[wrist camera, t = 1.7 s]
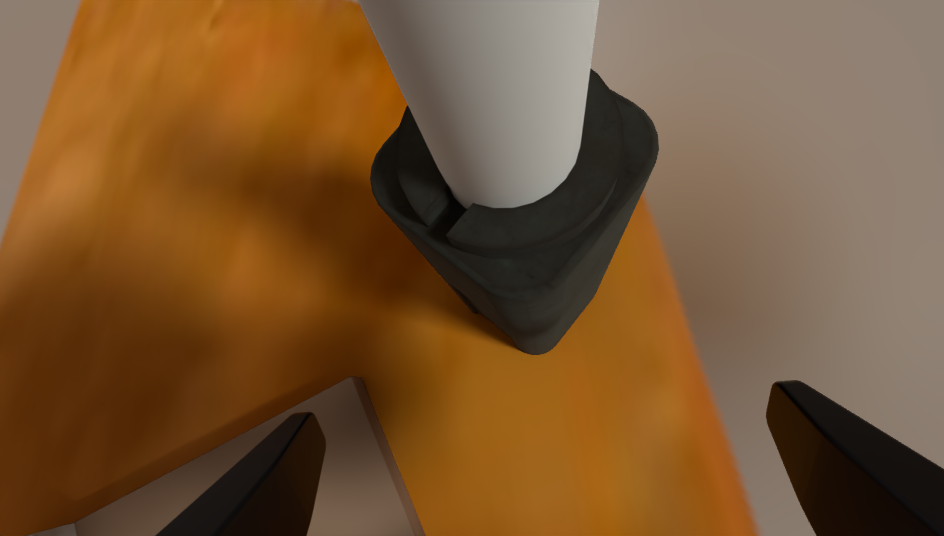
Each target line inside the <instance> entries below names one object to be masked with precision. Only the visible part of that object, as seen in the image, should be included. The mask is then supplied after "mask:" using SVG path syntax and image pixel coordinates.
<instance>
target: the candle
mask: <svg viewBox="0 0 944 536" xmlns="http://www.w3.org/2000/svg"><path fill="white" fill-rule="evenodd" d="M358 2H359V4H360V6H361V8H362V10H363V12H364V14H365V16H366V18H367V20H368V22H369V25H370V27H371V29H372V31H373V33H374V35H375V37H376V39H377V41H378V43H379V45H380V48H381V50H382V52H383V54H384V56H385V58H386V60H387V62H388V64H389V66H390V69H391V71H392V73H393V75H394V77H395V79H396V81H397V83H398V85H399V87H400V89H401V92H402V94H403V96H404V98H405V100H406V102H407V104H408V106H407V107H406V110H405V112H404V115H403V117H402V120H401V123H400V125H399V127H398V128H397V129H396V130H395V132H394V133H393V134H392V135H391V136H390V137H389V138H388V139H387V141H386V142H385V143H384V144H383V145H382V147H381V148H380V150H379V151H378V153H377V154H376V156H375V159H374V162H373V164H372V168H371V177H370V180H371V186H372V192H373V195H374V197H375V199H376V201H377V203H378V205H379V206H380V207H381V208H382V209H383V210H384V211H385V213H386V214H387V215H388V216H389V217H390V218H391V219H392V221H393V222H394V223H395V224H396V225H397V226H398V227H399V229H400V230H401V231H402V232H403V233H404V234H405V235H406V236H407V238H408V239H409V240H410V241H411V242H412V243H413V244H414V246H415V247H416V248H417V249H418V250H419V251H420V252H421V254H422V255H423V256H424V257H425V258H426V259H427V260H428V262H429V263H430V264H431V265H432V266H433V267H434V268H435V270H436V271H437V272H438V273H439V274H440V275H441V276H442V278H443V279H444V280H445V281H446V282H447V283H448V284H449V286H450V287H451V288H452V289H453V290H454V291H455V292H456V294H457V295H458V296H459V297H460V298H461V299H462V300H463V302H464V303H465V304H466V305H467V306H468V307H469V308H470V309H471V310H472V312H473V313H478V312H479V313H481V314H482V315H483V316H485V317H486V318H487V319H488V320H490V321H491V322H492V323H493V324H495V325H496V326H497V327H498V328H500V329H501V330H502V331H503V332H505V333H506V334H507V335H508V336H510V337H511V338H512V340H513V342H514V343H515V345H516V347H517V348H518V349H519V350H521V351H523V352H524V353H527V354H531V355H540V354H544V353H546V352H548V351H550V350H551V349H553V348H554V347H555V346H556V344H557V343H558V342H559V341H560V339H561V338H562V337H563V336H564V334H565V333H566V332H567V330H568V329H569V328H570V327H571V325H572V324H573V323H574V322H575V320H576V319H577V318H578V316H579V315H580V314H581V313H582V311H583V310H584V309H585V307H586V306H587V305H588V304H589V302H590V301H591V300H592V299H593V297H594V295H595V293H596V291H597V289H598V287H599V285H600V283H601V281H602V278H603V276H604V274H605V272H606V270H607V268H608V265H609V263H610V261H611V259H612V257H613V255H614V252H615V250H616V248H617V246H618V244H619V242H620V239H621V237H622V235H623V233H624V231H625V228H626V226H627V224H628V222H629V220H630V218H631V215H632V213H633V211H634V209H635V207H636V205H637V202H638V200H639V198H640V196H641V194H642V192H643V189H644V187H645V185H646V183H647V181H648V178H649V176H650V174H651V172H652V169H653V167H654V165H655V163H656V159H657V155H658V151H659V145H658V134H657V132H656V129H655V126H654V124H653V122H652V120H651V119H650V118H649V116H648V115H647V114H646V112H645V111H644V110H642V109H641V108H640V107H638V106H637V105H636V104H634V103H633V102H631V101H630V100H628V99H626V98H624V97H623V96H621V95H619V94H617V93H616V92H614V91H612V90H610V89H609V88H608V87H607V85H606V84H605V83H604V81H603V80H602V79H601V78H600V76H599V75H598V74H597V73H596V72H595V71H593V70H592V69H591V68H590V67H591V60H592V52H593V44H594V36H595V29H596V20H597V13H598V6H599V0H358Z"/></svg>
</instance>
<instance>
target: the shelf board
mask: <svg viewBox="0 0 944 536" xmlns="http://www.w3.org/2000/svg"><path fill="white" fill-rule="evenodd" d="M296 412H312V413H314V414H315V416H316V418H317V420H318V422H319V425H320V427H321V429H322V431H323V434H324V436H325V439H326V451H325V456H324V461H323V466H322V471H321V476H320V481H319V486H318V490H317V495H316V500H315V505H314V510H313V514H312V519H311V523H310V526H309V530H308V533H307V536H425V533H424V531H423V528H422V526H421V523H420V521H419V519H418V516H417V514H416V511H415V509H414V506H413V504H412V501H411V499H410V496H409V494H408V492H407V489H406V487H405V484H404V482H403V479H402V477H401V474H400V472H399V469H398V467H397V465H396V462H395V460H394V457H393V455H392V452H391V450H390V447H389V445H388V442H387V440H386V438H385V435H384V433H383V430H382V428H381V425H380V423H379V420H378V418H377V415H376V413H375V411H374V408H373V406H372V403H371V401H370V398H369V396H368V393H367V391H366V388H365V386H364V384H363V381H362V379H361V377H352V376H351V377H349V378H347V379H345V380H343V381H341V382H339V383H337V384H336V385H334V386H332V387H330V388H328V389H326V390H324V391H322V392H320V393H319V394H317V395H315V396H313V397H311V398H309V399H307V400H305V401H303V402H302V403H300V404H298V405H296V406H294V407H292V408H290V409H288V410H286V411H285V412H283V413H281V414H279V415H277V416H275V417H273V418H271V419H269V420H268V421H266V422H264V423H262V424H260V425H258V426H256V427H254V428H252V429H251V430H249V431H247V432H245V433H243V434H241V435H239V436H237V437H235V438H234V439H232V440H230V441H228V442H226V443H224V444H222V445H220V446H218V447H217V448H215V449H213V450H211V451H209V452H207V453H205V454H203V455H201V456H199V457H198V458H196V459H194V460H192V461H190V462H188V463H186V464H184V465H182V466H181V467H179V468H177V469H175V470H173V471H171V472H169V473H167V474H165V475H164V476H162V477H160V478H158V479H156V480H154V481H152V482H150V483H148V484H147V485H145V486H143V487H141V488H139V489H137V490H135V491H133V492H131V493H130V494H128V495H126V496H124V497H122V498H120V499H118V500H116V501H114V502H113V503H111V504H109V505H107V506H105V507H103V508H101V509H99V510H97V511H96V512H94V513H92V514H90V515H88V516H86V517H84V518H82V519H80V520H79V521H77V522H75V523H72V524H68V525H64V526H60V527H56V528H53V529H49V530H45V531H41V532H38V533H34V534H30V535H26V536H155V535H156V534H157V533H159V532H160V531H161V530H162V529H163V528H164V527H165V526H166V525H168V524H169V523H170V522H171V521H172V520H173V519H174V518H175V517H177V516H178V515H179V514H180V513H181V512H182V511H183V510H184V509H186V508H187V507H188V506H189V505H190V504H191V503H192V502H193V501H195V500H196V499H197V498H198V497H199V496H200V495H201V494H202V493H203V492H205V491H206V490H207V489H208V488H209V487H210V486H211V485H212V484H214V483H215V482H216V481H217V480H218V479H219V478H220V477H221V476H223V475H224V474H225V473H226V472H227V471H228V470H229V469H230V468H232V467H233V466H234V465H235V464H236V463H237V462H238V461H239V460H241V459H242V458H243V457H244V456H245V455H246V454H247V453H248V452H250V451H251V450H252V449H253V448H254V447H255V446H256V445H257V444H258V443H260V442H261V441H262V440H263V439H264V438H265V437H266V436H267V435H269V434H270V433H271V432H272V431H273V430H274V429H275V428H276V427H278V426H279V425H280V424H281V423H282V422H283V421H284V420H285V419H287V418H288V417H289V416H290V415H291V414H293V413H296Z"/></svg>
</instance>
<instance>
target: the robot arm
mask: <svg viewBox="0 0 944 536" xmlns="http://www.w3.org/2000/svg"><path fill="white" fill-rule="evenodd" d="M766 419H767V424H768V427H769V429H770V432H771V434H772V437H773V439H774V441H775V444H776V446H777V449H778V451H779V454H780V456H781V459H782V461H783V464H784V466H785V469H786V471H787V474H788V476H789V478H790V481H791V483H792V485H793V488H794V491H795V493H796V495H797V498H798V500H799V502H800V505H801V507H802V509H803V511H804V512H805V515H806V517H807V519H808V521H809V522H810V524H811V526H812V528H813V530H814V532H815V533H816V535H817V536H944V469H943V468H941V467H940V466H938V465H937V464H935V463H933V462H931V461H930V460H928V459H927V458H925V457H923V456H922V455H920V454H919V453H917V452H915V451H914V450H912V449H911V448H909V447H907V446H906V445H904V444H902V443H901V442H899V441H898V440H896V439H894V438H893V437H891V436H889V435H888V434H886V433H884V432H883V431H881V430H880V429H878V428H876V427H875V426H873V425H872V424H870V423H868V422H867V421H865V420H863V419H862V418H860V417H859V416H857V415H855V414H854V413H852V412H850V411H849V410H847V409H846V408H844V407H842V406H841V405H839V404H837V403H836V402H834V401H832V400H831V399H829V398H827V397H826V396H824V395H823V394H821V393H819V392H818V391H816V390H815V389H813V388H811V387H810V386H808V385H806V384H805V383H803V382H801V381H797V380H791V381H777V382H775V383H774V384H773V385H772V388H771V392H770V397H769V402H768V407H767V412H766ZM325 451H326V439H325V436H324V434H323V431H322V429H321V427H320V425H319V422H318V420H317V418H316V416H315V414H314V413H312V412H296V413H293V414H291V415H290V416H289V417H288V418H287V419H285V420H284V421H283V422H282V423H281V424H280V425H279V426H278V427H276V428H275V429H274V430H273V431H272V432H271V433H270V434H269V435H267V436H266V437H265V438H264V439H263V440H262V441H261V442H260V443H258V444H257V445H256V446H255V447H254V448H253V449H252V450H251V451H250V452H248V453H247V454H246V455H245V456H244V457H243V458H242V459H241V460H239V461H238V462H237V463H236V464H235V465H234V466H233V467H232V468H230V469H229V470H228V471H227V472H226V473H225V474H224V475H223V476H221V477H220V478H219V479H218V480H217V481H216V482H215V483H214V484H212V485H211V486H210V487H209V488H208V489H207V490H206V491H205V492H203V493H202V494H201V495H200V496H199V497H198V498H197V499H196V500H195V501H193V502H192V503H191V504H190V505H189V506H188V507H187V508H186V509H184V510H183V511H182V512H181V513H180V514H179V515H178V516H177V517H175V518H174V519H173V520H172V521H171V522H170V523H169V524H168V525H166V526H165V527H164V528H163V529H162V530H161V531H160V532H159V533H157V534H156V535H155V536H307V533H308V530H309V526H310V523H311V519H312V514H313V510H314V505H315V500H316V495H317V490H318V486H319V481H320V476H321V471H322V466H323V461H324V456H325Z"/></svg>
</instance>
